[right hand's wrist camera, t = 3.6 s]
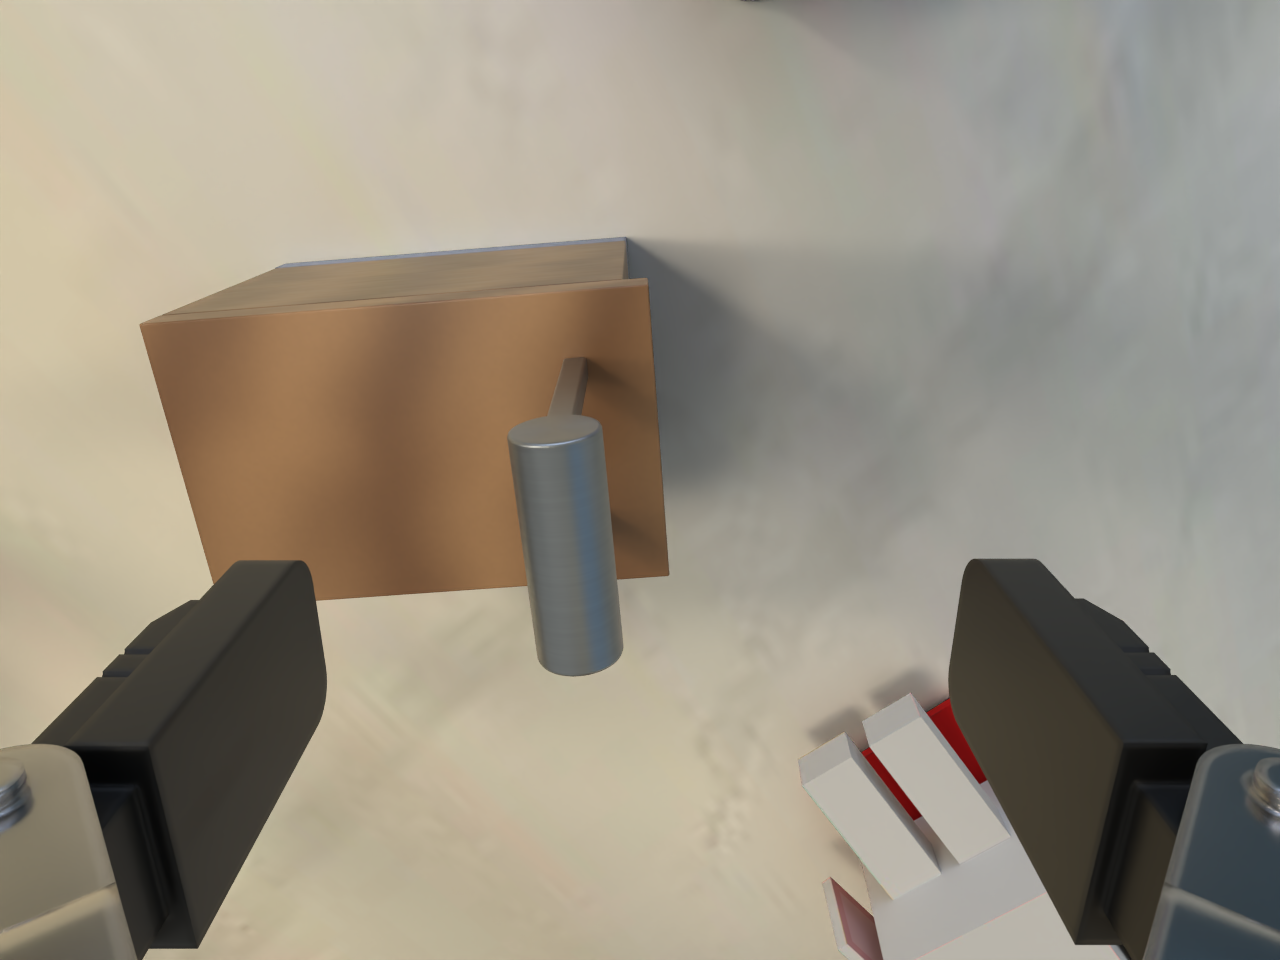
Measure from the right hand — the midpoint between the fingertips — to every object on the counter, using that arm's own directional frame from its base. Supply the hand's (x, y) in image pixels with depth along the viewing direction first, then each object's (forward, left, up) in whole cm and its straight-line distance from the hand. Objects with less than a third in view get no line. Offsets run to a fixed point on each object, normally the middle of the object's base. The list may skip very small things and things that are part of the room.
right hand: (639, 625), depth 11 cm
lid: (-7, -4, -18) cm, 19 cm away
